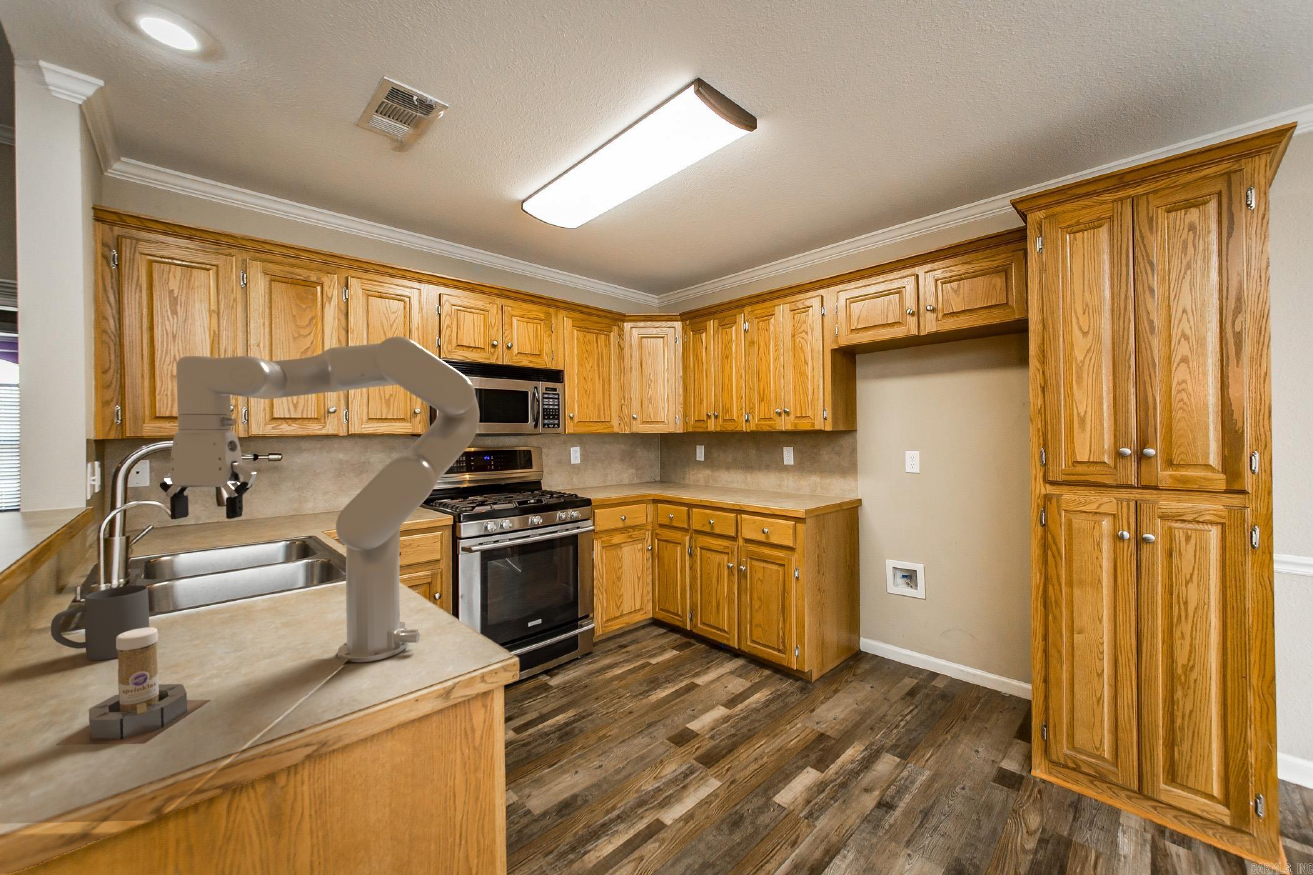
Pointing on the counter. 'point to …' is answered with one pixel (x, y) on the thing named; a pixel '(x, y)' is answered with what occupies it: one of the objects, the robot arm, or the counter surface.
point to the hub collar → (136, 715)
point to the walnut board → (84, 736)
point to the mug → (107, 619)
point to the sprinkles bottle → (137, 668)
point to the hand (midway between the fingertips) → (207, 517)
